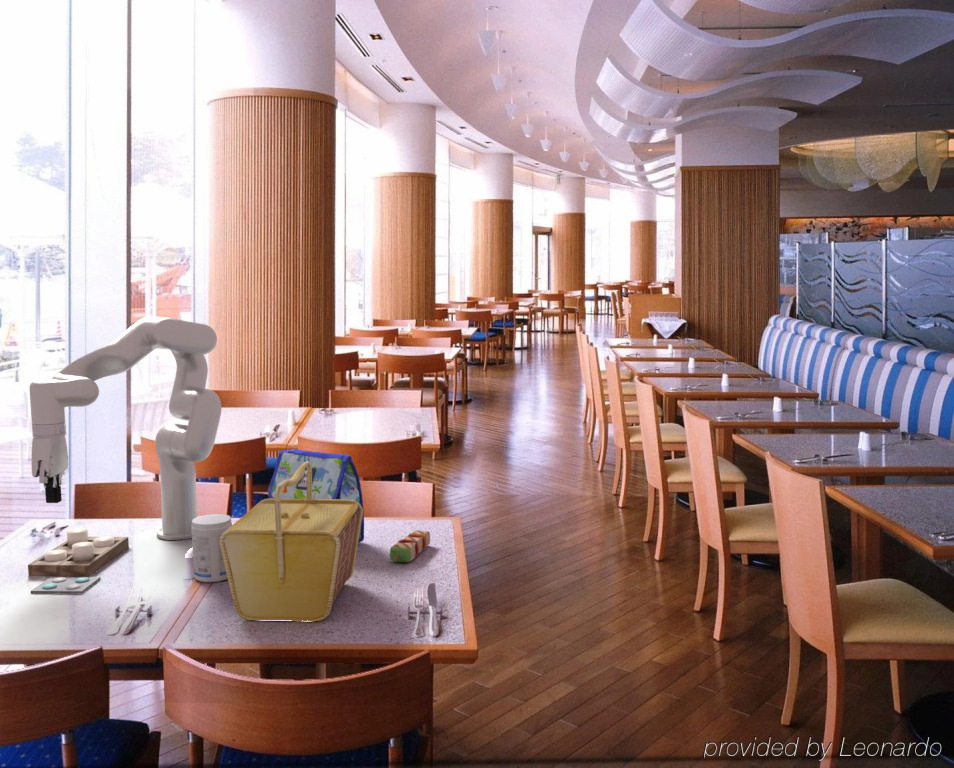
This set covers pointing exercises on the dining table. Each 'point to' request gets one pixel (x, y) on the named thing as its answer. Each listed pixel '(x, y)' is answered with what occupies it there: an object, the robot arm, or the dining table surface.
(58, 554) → the button
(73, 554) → the button
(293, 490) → the lunch bag
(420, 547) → the skewer
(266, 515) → the picnic basket
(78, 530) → the button
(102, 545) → the button
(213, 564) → the supplement tub
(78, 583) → the tile
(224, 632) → the dining table surface
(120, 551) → the button box
